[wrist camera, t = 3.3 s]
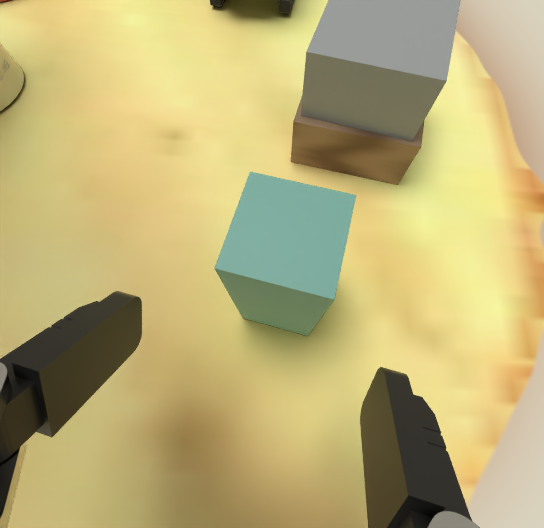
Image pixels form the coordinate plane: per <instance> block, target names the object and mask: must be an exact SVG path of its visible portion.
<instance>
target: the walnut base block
mask: <svg viewBox="0 0 544 528" xmlns="http://www.w3.org/2000/svg"><path fill="white" fill-rule="evenodd" d="M302 96H303V95H302ZM301 106H302V98H301V101H300V104H299V107H298V110H297V113H296V116H295V119H294V122H293V137H292V152H291V162H294V163H299V164H303V165H308V166H312V167H317V168H322V169H326V170H331V171H336V172H340V173H345V174H349V175H354V176H359V177H363V178H368V179H373V180H377V181H382V182H386V183H391V184H396V185H398V183H399V181H400V180H401V178H402V177H403V175H404V173H405V172H406V170H407V169H408V167H409V165H410V164H411V162H412V161H413V159H414V157H415V156H416V154H417V152H418V151H419V149H420V148H421V142H422V134H423V126H424V121H423V123H422V125H421V126H420V128H419V130H418V132H417V133H416V135H415V137H414V139H413V140H412V142H411V141H407V140H402V139H398V138H394V137H390V136H386V135H381V134H377V133H373V132H369V131H364V130H360V129H356V128H352V127H348V126H343V125H339V124H335V123H331V122H326V121H322V120H318V119H314V118H309V117H305V116H301Z"/></svg>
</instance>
